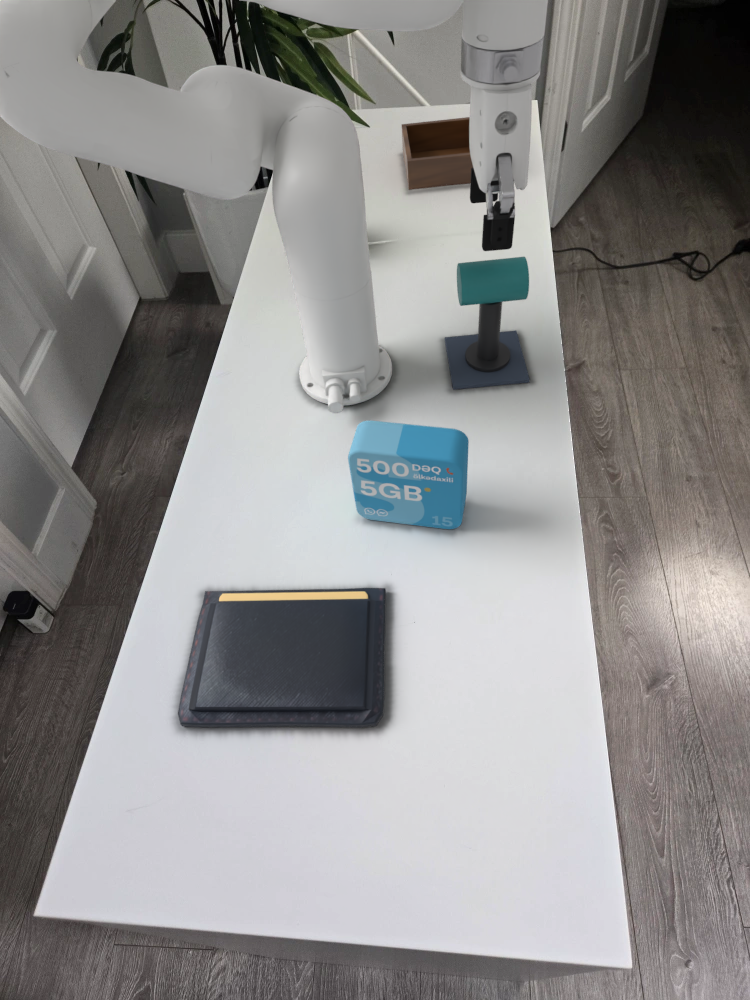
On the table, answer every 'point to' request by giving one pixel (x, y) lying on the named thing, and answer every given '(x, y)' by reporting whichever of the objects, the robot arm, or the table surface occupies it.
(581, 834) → the table surface
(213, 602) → the wallet
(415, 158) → the open wooden box
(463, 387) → the mat
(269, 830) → the table surface
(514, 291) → the mallet
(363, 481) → the data package
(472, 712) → the table surface
